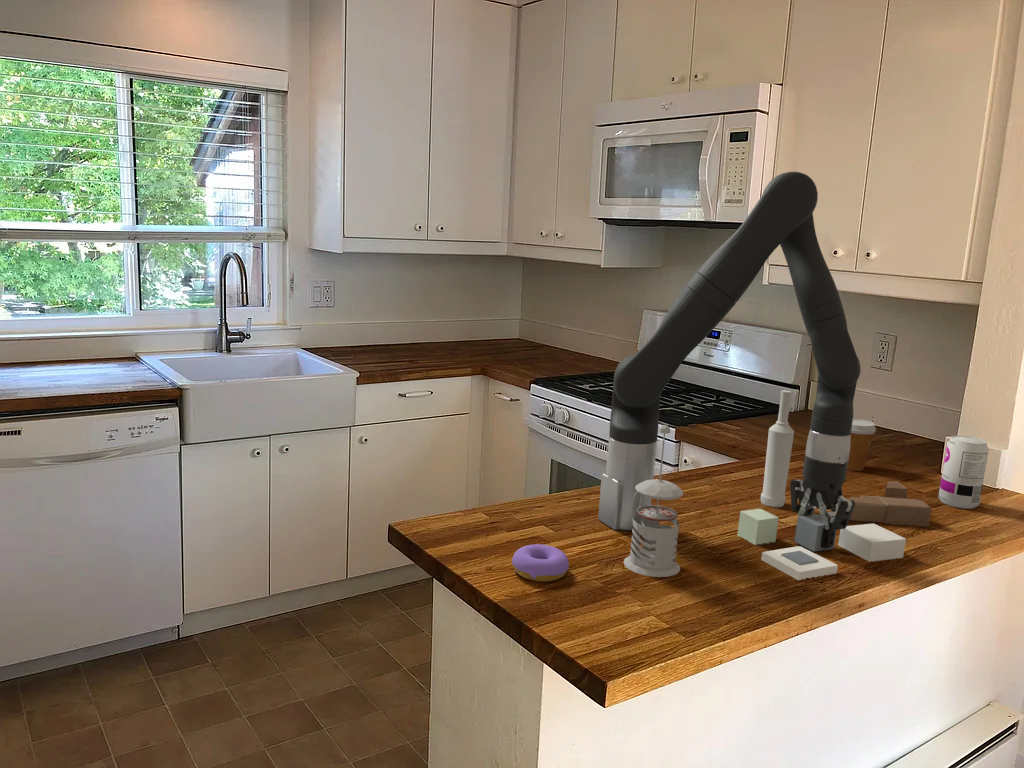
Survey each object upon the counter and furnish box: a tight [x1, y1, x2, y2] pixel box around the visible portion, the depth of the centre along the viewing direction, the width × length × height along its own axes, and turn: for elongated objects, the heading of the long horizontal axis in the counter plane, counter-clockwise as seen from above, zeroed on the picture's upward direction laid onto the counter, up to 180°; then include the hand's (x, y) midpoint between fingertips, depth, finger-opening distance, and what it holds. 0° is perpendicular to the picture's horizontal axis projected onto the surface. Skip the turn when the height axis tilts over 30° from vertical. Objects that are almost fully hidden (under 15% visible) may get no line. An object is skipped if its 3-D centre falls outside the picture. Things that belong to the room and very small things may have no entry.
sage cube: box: [737, 508, 779, 546], centre depth 159 cm, size 5×5×5 cm
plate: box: [761, 545, 839, 581], centre depth 147 cm, size 9×9×2 cm
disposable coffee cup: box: [847, 417, 877, 472], centre depth 211 cm, size 10×10×12 cm
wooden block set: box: [846, 480, 932, 527], centre depth 179 cm, size 17×6×18 cm
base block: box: [837, 523, 907, 563], centre depth 156 cm, size 8×8×4 cm
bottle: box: [760, 389, 795, 508], centre depth 178 cm, size 5×5×25 cm
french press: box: [623, 424, 684, 578], centre depth 142 cm, size 10×12×25 cm
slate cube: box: [793, 513, 838, 553], centre depth 156 cm, size 5×5×5 cm
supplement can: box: [937, 435, 990, 510], centre depth 186 cm, size 8×8×15 cm
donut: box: [511, 543, 570, 583], centre depth 138 cm, size 10×9×5 cm
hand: (814, 541), depth 156 cm, fingers closed on slate cube, 5 cm apart
